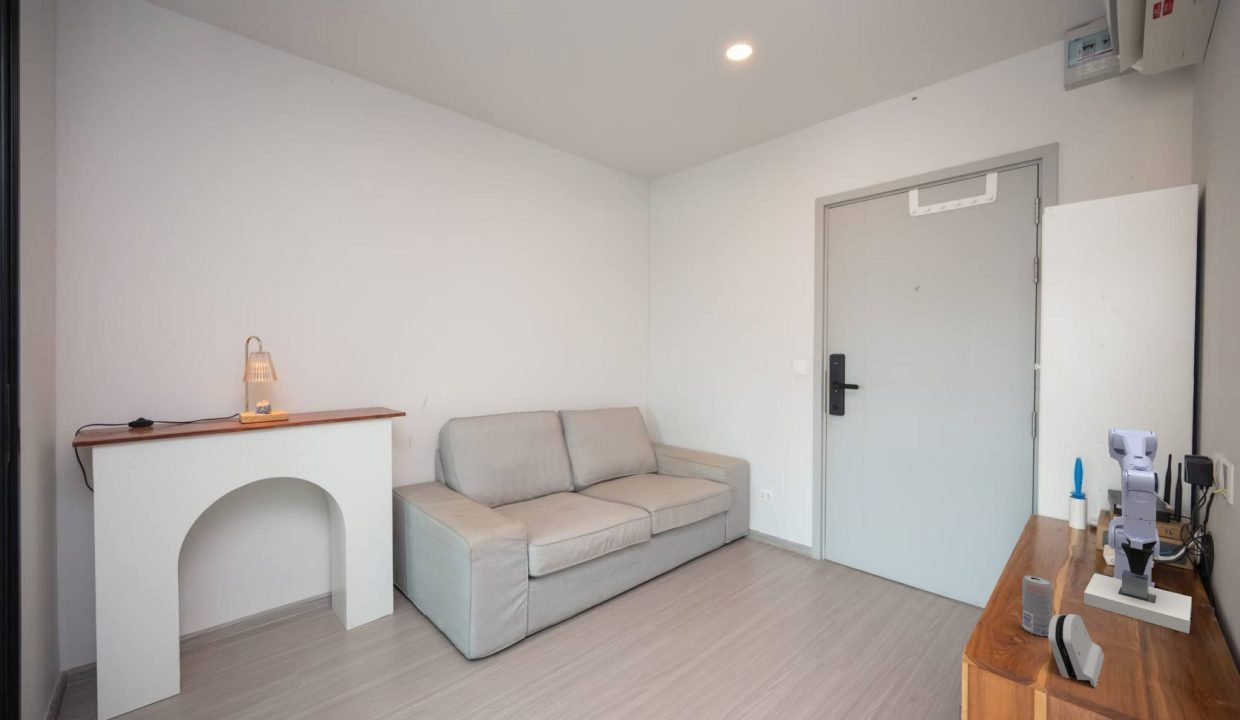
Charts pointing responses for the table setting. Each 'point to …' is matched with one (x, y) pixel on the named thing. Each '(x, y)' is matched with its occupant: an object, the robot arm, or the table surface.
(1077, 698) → the table surface
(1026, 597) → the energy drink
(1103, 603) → the hole board
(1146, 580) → the square peg
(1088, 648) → the grey black angular block
